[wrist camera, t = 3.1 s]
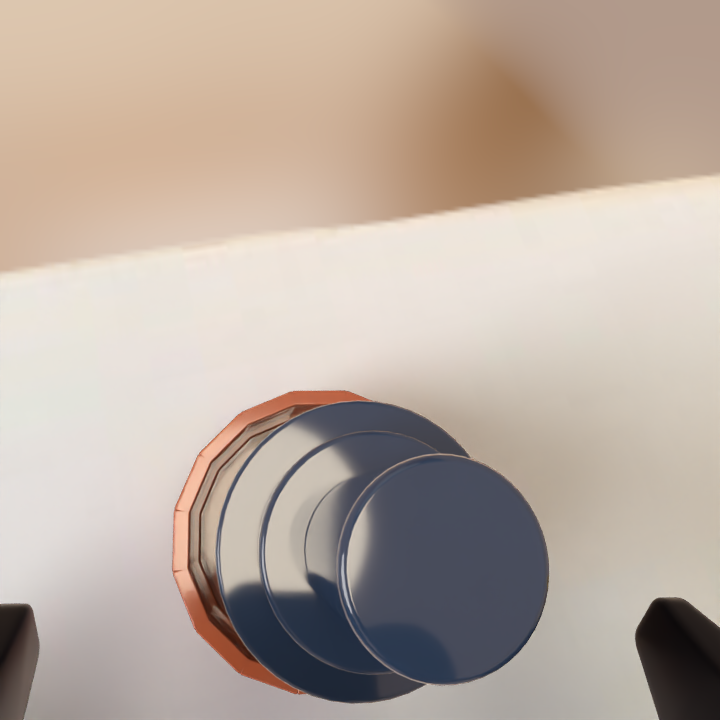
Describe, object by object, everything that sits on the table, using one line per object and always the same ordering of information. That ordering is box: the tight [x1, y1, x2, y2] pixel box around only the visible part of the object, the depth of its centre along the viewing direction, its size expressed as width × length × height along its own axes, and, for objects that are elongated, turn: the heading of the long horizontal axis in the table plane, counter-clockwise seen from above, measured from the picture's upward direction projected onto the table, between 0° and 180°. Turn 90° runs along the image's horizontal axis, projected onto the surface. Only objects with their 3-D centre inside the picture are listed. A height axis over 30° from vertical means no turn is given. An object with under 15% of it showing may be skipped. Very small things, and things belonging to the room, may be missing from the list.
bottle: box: [215, 401, 549, 704], centre depth 11 cm, size 4×4×12 cm
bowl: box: [172, 391, 371, 695], centre depth 16 cm, size 7×7×4 cm
